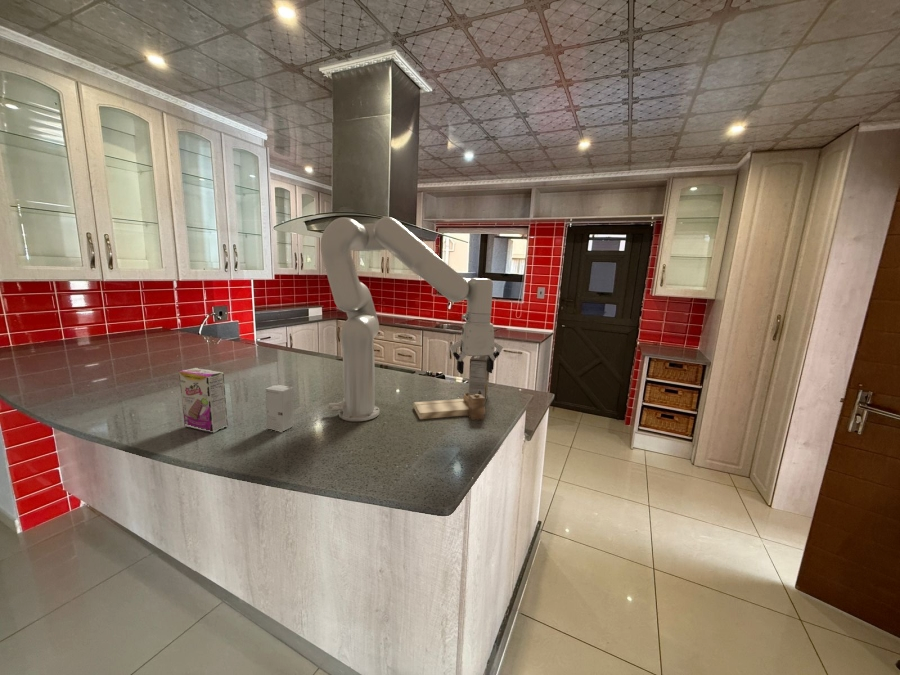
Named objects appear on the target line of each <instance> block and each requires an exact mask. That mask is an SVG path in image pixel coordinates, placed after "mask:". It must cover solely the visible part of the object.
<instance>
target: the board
mask: <svg viewBox="0 0 900 675" xmlns="http://www.w3.org/2000/svg"><path fill="white" fill-rule="evenodd" d="M413 408H414V411H415V413H416V414H417V417H418V419H419V420H424V419H425V420H427V419H428V420H429V419H437V418H451V417H461V416H463V417H464V416H468V413H469V405H468V404H467V403H466V402H465V401H464V400H463V398H455V399H444V400H443V399H442V400H439V399H438V400H426V401H414V402H413ZM484 413H485V414H486V407H485V406H484Z"/></svg>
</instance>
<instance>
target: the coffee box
mask: <svg viewBox="0 0 900 675" xmlns="http://www.w3.org/2000/svg"><path fill="white" fill-rule="evenodd" d="M487 359H489V357H488V356H470V359H469V375H468V394H469V395H475V394H481V395H482V396H483V397H484V398H485V403H487V402H486V401H487V399H488V395H489V394H488V393H489V374H490V373H489V372H488V371H486V368H487Z"/></svg>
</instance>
